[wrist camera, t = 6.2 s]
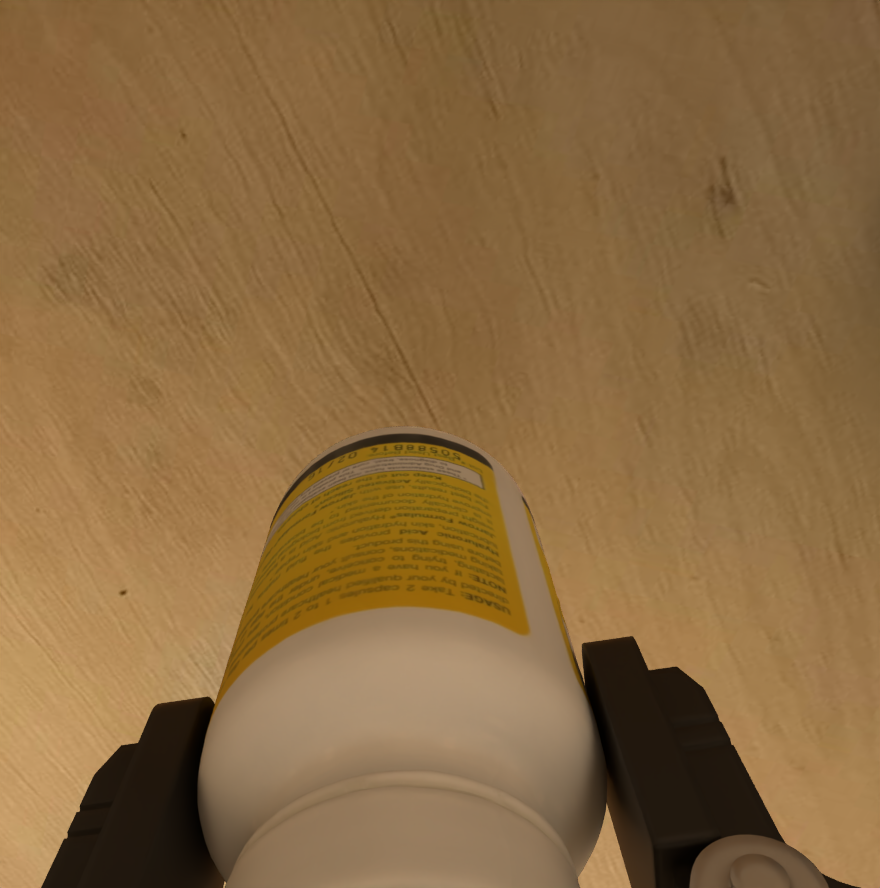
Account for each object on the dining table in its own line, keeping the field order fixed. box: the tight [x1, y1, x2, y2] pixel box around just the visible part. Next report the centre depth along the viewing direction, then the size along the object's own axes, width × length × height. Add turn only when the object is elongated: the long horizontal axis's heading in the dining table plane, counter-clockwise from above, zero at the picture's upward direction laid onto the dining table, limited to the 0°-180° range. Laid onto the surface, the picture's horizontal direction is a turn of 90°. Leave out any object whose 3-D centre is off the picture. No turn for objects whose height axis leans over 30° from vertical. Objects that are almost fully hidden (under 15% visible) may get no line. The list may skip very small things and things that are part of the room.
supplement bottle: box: [197, 426, 607, 888], centre depth 13 cm, size 5×5×10 cm
